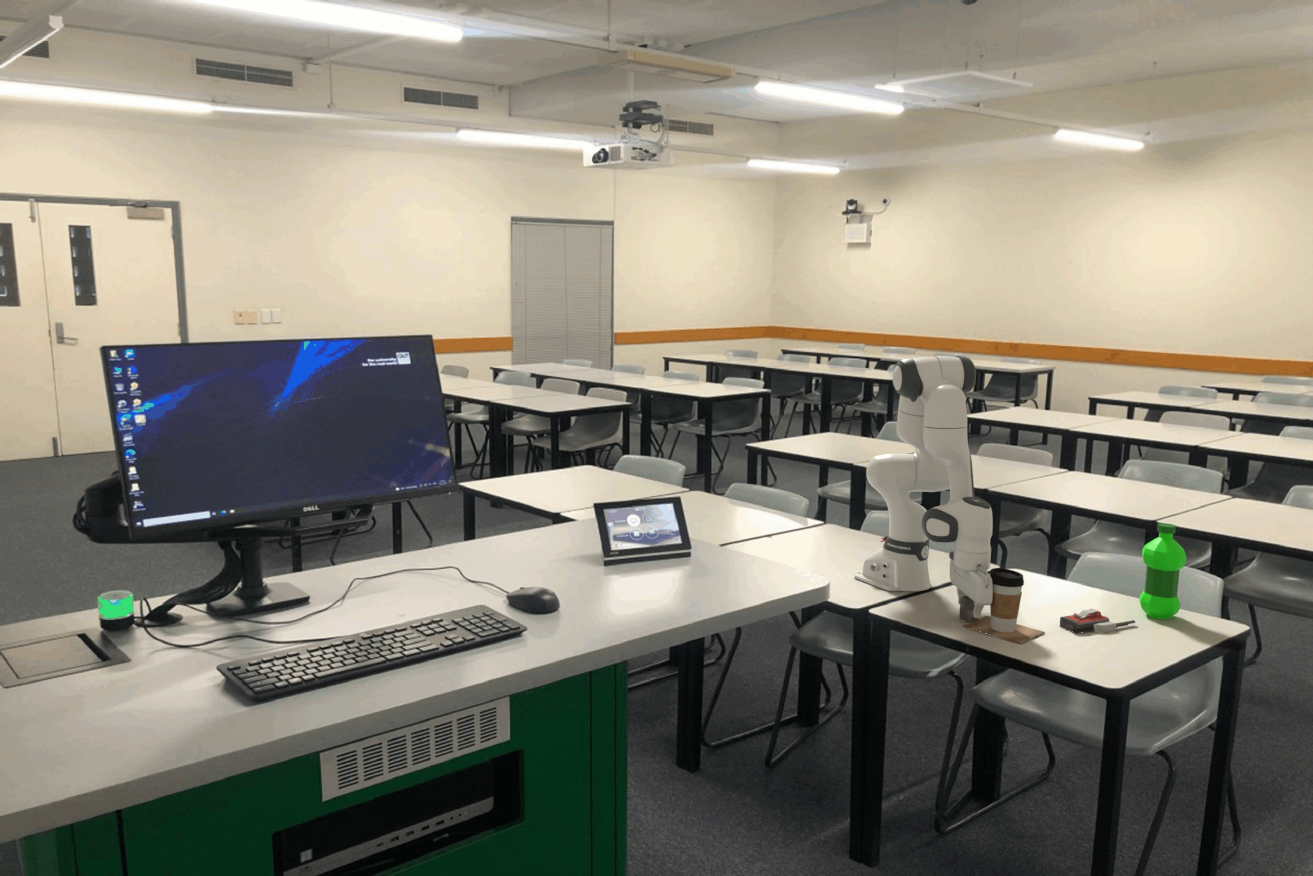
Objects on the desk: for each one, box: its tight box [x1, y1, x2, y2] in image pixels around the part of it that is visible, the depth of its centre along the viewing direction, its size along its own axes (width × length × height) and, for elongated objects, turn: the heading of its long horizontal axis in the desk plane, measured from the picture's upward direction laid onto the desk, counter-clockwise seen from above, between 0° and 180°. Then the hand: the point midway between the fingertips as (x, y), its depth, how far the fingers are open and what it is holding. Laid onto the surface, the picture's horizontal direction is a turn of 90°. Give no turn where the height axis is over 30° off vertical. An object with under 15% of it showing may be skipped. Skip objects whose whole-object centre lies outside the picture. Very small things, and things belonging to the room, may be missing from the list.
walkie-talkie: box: [1059, 608, 1136, 634], centre depth 249 cm, size 9×4×20 cm
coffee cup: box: [989, 567, 1025, 633], centre depth 244 cm, size 8×8×15 cm
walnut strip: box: [958, 595, 1046, 644], centre depth 246 cm, size 20×12×6 cm, turn 42°
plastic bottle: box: [1138, 522, 1187, 620], centre depth 255 cm, size 10×10×25 cm
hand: (969, 611), depth 252 cm, fingers open, 8 cm apart
